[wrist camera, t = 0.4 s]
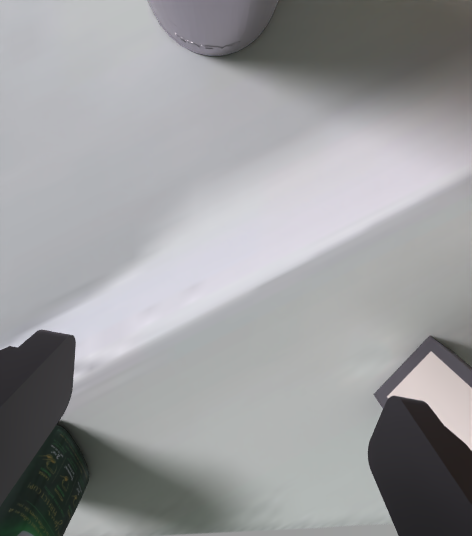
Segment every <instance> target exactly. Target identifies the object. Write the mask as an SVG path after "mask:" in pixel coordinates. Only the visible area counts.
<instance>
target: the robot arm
mask: <svg viewBox="0 0 472 536" xmlns="http://www.w3.org/2000/svg"><path fill="white" fill-rule="evenodd" d="M148 2H149V5H150V7H151V9H152V11H153V13H154V15H155V16H156V18H157V20H158V22H159V24H160V25H161V26H162V27H163V29H164V30H165V31H166V32H167V33H168V35H169V36H170V37H171V38H173V39H174V40H175V41H176V42H178V43H179V44H180V45H181V46H183V47H185V48H187V49H189V50H191V51H193V52H195V53H199V54H203V55H208V56H222V55H226V54H230V53H234V52H237V51H239V50H241V49H242V48H244V47H246V46H248V45H249V44H250V43H251V42H253V41H254V40H255V39H256V38H257V37H258V36H259V35H260V34H261V33H262V31H263V30H264V29H265V27H266V26H267V25H268V23H269V21H270V19H271V17H272V15H273V13H274V11H275V8H276V5H277V3H278V0H148ZM75 344H76V342H75V338H74V336H73V335H68V334H62V333H57V332H51V331H46V330H39V331H37V332H36V333H35V334H33V335H32V336H31V337H30V338H29V339H27V340H26V341H25V342H24V343H23V344H22V345H20V346H19V347H18V348H17V347H11V346H9V347H7V348H5V349H2V350H0V506H1V504H2V503H3V502H4V500H5V499H6V497H7V496H8V494H9V493H10V491H11V490H12V488H13V487H14V486H15V484H16V483H17V481H18V480H19V478H20V477H21V475H22V474H23V472H24V471H25V470H26V468H27V467H28V465H29V464H30V462H31V461H32V459H33V458H34V456H35V455H36V454H37V452H38V451H39V449H40V448H41V446H42V445H43V443H44V442H45V440H46V439H47V437H48V436H49V435H50V433H51V432H52V430H53V429H54V427H55V426H56V424H57V423H58V421H59V420H60V419H61V417H62V416H63V414H64V412H65V410H66V408H67V406H68V404H69V401H70V398H71V394H72V388H73V374H74V360H75ZM368 461H369V466H370V469H371V471H372V474H373V476H374V479H375V481H376V483H377V486H378V488H379V490H380V493H381V495H382V497H383V500H384V502H385V505H386V507H387V509H388V512H389V514H390V516H391V519H392V521H393V523H394V526H395V528H396V530H397V533H398V535H399V536H472V451H471V450H470V448H469V447H468V446H467V445H466V444H465V443H464V442H463V441H462V440H461V439H460V438H458V437H457V436H456V435H455V434H454V433H453V432H451V431H450V430H449V429H448V428H447V427H446V426H444V425H443V423H442V422H441V421H440V419H439V418H438V417H437V415H436V414H435V413H434V412H433V410H432V409H431V408H430V406H429V405H428V404H427V403H426V402H424V401H421V400H415V399H410V398H405V397H399V396H391V397H390V398H388V400H387V401H386V403H385V406H384V408H383V411H382V413H381V415H380V418H379V420H378V423H377V425H376V427H375V430H374V432H373V435H372V437H371V439H370V442H369V446H368Z"/></svg>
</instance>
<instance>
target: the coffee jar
mask: <svg viewBox="0 0 472 536" xmlns="http://www.w3.org/2000/svg"><path fill="white" fill-rule="evenodd" d="M88 480H89V472H88V468H87V465H86V462H85V460H84V458H83V455H82V453H81V452H80V450H79V448H78V446H77V445H76V443H75V441H74V440H73V439H72V437H71V436H70V434H69V433H68V432H67V431H66V430H65V429H64V428H62V427H61V426H58V425H56V426H55V427H54V429H53V430H52V432H51V433H50V435H49V436H48V437H47V439H46V440H45V442H44V443H43V445H42V446H41V448H40V449H39V451H38V452H37V454H36V455H35V456H34V458H33V459H32V461H31V462H30V464H29V465H28V467H27V468H26V470H25V471H24V472H23V474H22V475H21V477H20V478H19V480H18V481H17V483H16V484H15V486H14V487H13V488H12V490H11V491H10V493H9V494H8V496H7V497H6V499H5V500H4V502H3V503H2V504H1V506H0V536H63V534H64V532H65V530H66V528H67V526H68V524H69V522H70V520H71V518H72V516H73V514H74V512H75V510H76V508H77V506H78V504H79V502H80V500H81V497H82V495H83V493H84V490H85V488H86V486H87V484H88Z"/></svg>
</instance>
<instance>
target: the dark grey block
mask: <svg viewBox="0 0 472 536" xmlns="http://www.w3.org/2000/svg"><path fill="white" fill-rule="evenodd" d="M374 396H375V397H376V399H377V400H378V402H379V403H380V405H381V406H382V408H384V406H385V403H386V401H387V400H388V398H390V397H391V396H399V397H405V398H410V399H415V400H421V401H424V402H426V403H427V404H428V405H429V406H430V408H431V409H432V410H433V412H434V413H435V414H436V415H437V417H438V418H439V419H440V421H441V422H442V423H443V425H444V426H446V427H447V428H448V429H449V430H450V431H451V432H453V433H454V434H455V435H456V436H457V437H458V438H460V439H461V440H462V441H463V442H464V443H465V444H466V445H467V446H468V447H469V448H470V450H471V451H472V367H471V366H469V365H468V364H467V363H466V362H465V361H463V360H462V359H461V358H460V357H459V356H457V355H456V354H455V353H454V352H452V351H451V350H449V349H448V348H447V347H445V346H444V345H442V344H441V343H440V342H438V341H437V340H435V339H434V338H433V337H431V336H429V337H428V338H427V339H426V340H425V341H424V342H423V343H422V344H421V345H420V346H419V347H418V348H417V350H416V351H415V352H414V353H413V354H412V355H411V356H410V357H409V358H408V359H407V360H406V361H405V362H404V363H403V364H402V365H401V366H400V367H399V368H398V369H397V370H396V372H395V373H394V374H393V375H392V376H391V377H390V378H389V379H388V380H387V381H386V382H385V383H384V384H383V385H382V386H381V387H380V388H379V389H378V390H377V391H376V393H375V394H374Z"/></svg>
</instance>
